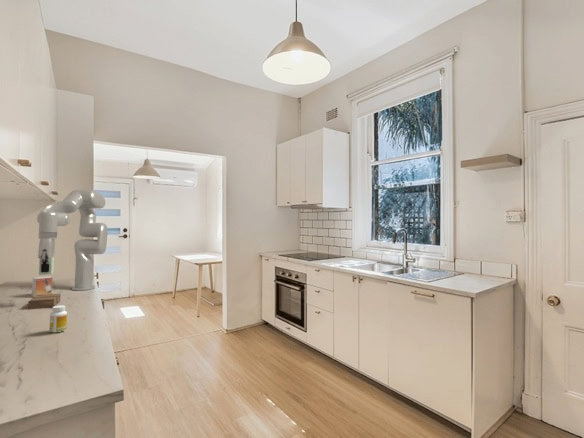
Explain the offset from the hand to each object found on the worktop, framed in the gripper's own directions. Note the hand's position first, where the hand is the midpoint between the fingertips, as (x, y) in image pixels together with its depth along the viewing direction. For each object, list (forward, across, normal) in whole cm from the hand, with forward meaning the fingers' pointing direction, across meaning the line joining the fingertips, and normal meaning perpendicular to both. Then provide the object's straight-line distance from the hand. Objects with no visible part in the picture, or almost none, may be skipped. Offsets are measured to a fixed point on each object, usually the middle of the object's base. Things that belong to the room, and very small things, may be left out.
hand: (46, 270), depth 162 cm
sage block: (+2, 0, 0) cm, 2 cm away
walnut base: (+17, 0, 0) cm, 17 cm away
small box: (+18, -25, -7) cm, 31 cm away
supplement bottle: (+18, +49, +15) cm, 54 cm away
